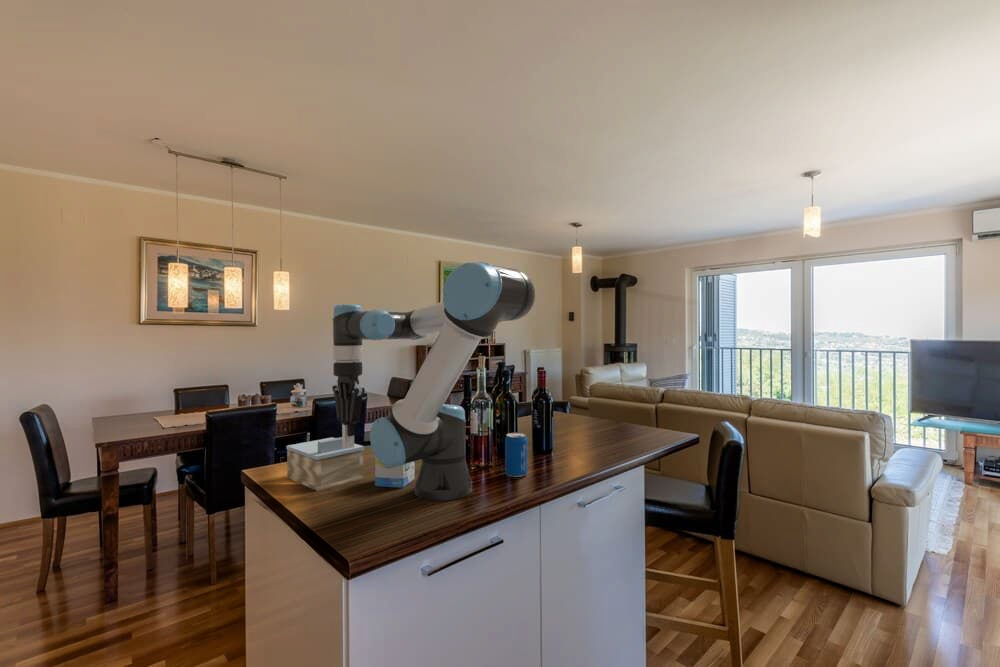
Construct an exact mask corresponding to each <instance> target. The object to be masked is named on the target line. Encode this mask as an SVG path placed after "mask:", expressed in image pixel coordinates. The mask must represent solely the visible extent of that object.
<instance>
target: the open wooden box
mask: <svg viewBox="0 0 1000 667" xmlns="http://www.w3.org/2000/svg"><path fill="white" fill-rule="evenodd" d="M286 450H287V449H286ZM286 452H287V454H286V458H287V459H286V460H287V461H286V463H287V466H286V467H287V468H286V469H287V471H286V472H287V474H286V475H287V476H286V477H287V478H288V479H290V480H293V481H294V482H296V483H299V484H301V485H303V486H306V487H308V488H309V489H311V490H314V491H316V492H318V491H322V490H325V489H329V488H333V487H337V486H341V485H344V484H348V483H352V482H356V481H359V480H363V479H364V450H361V451H357V452H352V453H347V454H343V455H338V456H334V457H329V458H324V459H320V460H314V459H312V458H309V457H306V456H304V455H301V454H298V453H295V452H293V451H290V450H287V451H286Z"/></svg>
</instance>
